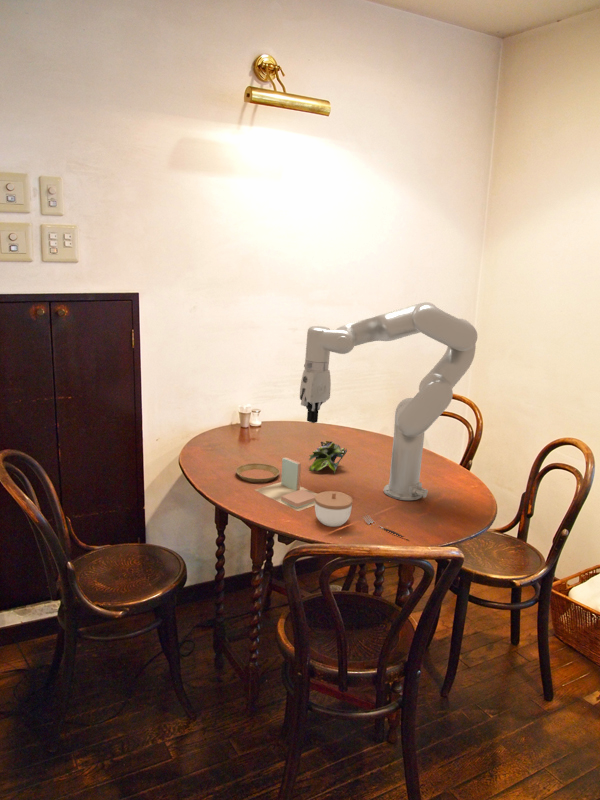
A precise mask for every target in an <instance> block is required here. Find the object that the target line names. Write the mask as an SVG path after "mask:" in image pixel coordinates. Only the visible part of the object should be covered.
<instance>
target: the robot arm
mask: <svg viewBox="0 0 600 800" xmlns="http://www.w3.org/2000/svg"><path fill="white" fill-rule="evenodd" d="M306 333H307V335H306V344H305V345H306V347H305V358H304V359H305V360H304V364H303V368H304V370H303V372H302V376H301V381H300V388H299V400H300V401H301V403H300V406H303V407H305V408H306V410H307V415H306V417H307V418H306V421H307V422H309V423H311V424H316V423H318V419H319V418H318V417H319V411H320V410H321V407H322V405H323V404H325V403H326V402H327V401H328V400H329V399H330V398H331V389H332V388H331V384H332V383H331V371H330V369H329V365H330V354H331V353H336V354H339V355H346V354H349V353H350V352H352V351H353V350H354V348H355V347H357V346H360V345H361V346H362V345H364V344H367V343H372V342H391V341H392V342H393V341H395V340H399V339H402V338H405V337H408V336H412V335H416V334H421V333H422V334H423V335H425V336H427V337H429V338H430V339H433V340H434V341H436V342H439V343H440V344H443V345H444V346H446V347H447V348H446V351H445V352H444V354H443V355H442V357H441V358H440V359H439V361H438V362H437V363H436V364H435V365H434V366H433V367H432V368H431V370H430V371H428V373H427V374H426V375H425V376H424V377H423V378H422V380H421V381H420V382H419V385H418V392H417V393H416V395H414V396H413V397H406V398H404V399H402V400H401V401H399V403H398V404H397V406H396V408H395V411H394V412H395V413H394V424H393V426H394V427H393V428H394V429H393V439H392V441H393V442H392V447H391V448H392V450H391V451H392V452H391V459H390V460H391V461H390V470H389V471H390V472H389V480H388V483H387V484H386V485H384V486H383V492H384V494H385V495H387V497H390V498H392V499H396V500H399V501H416V500H420V499H421V498H424V499H425V498H426V497H427V496H428V493H429V490H428V489H427V488H423V483H422V482H421V481H420V478H421V470H422V460H423V449H424V441H425V432H426V431H427V430H428V429H429V428H430V427H431V426H432V425H433V423H435V422H436V421H437V420H438V418H439V417H440V416H441V415H442V414H443V413H444V412H445V410H446V409H447V408H448V407H449V406H450V404H451V402H452V400H453V395H454V392H453V388H454V387H455V386H456V385H457V384H458V383H459V382H460V380H462V377H463V376H464V375H465V374H466V373H467V371H469V369H470V367H471V365H472V364H473V361H474V358H475V354H476V349H477V348H476V343H477V340H478V332H477V329H476V327H475V326H474V325H473V324H472V323H471V322H470V321H469V320H467V319H464V318H459V317H456V316H454V315H452V314H450V313H448V312H446V311H444V310H443V309H440V308H439V307H437V306H436V305H435V304H433V303H432V302H427V301H426V302H421V303H420V302H419V303H417V304H414V305H411V306H407V307H404V308H400V309H396V310H393V311H390V312H386V313H383V314H380V315H375V316H372V317H369V318H365V319H362V320H358V321H354V322H350V323H348V324H344V325H341V326H339V327H337V328H336V329H330V328H329V327H326V326H322V325H320V326H319V325H313V326H310V327H309V328H308V329H307V331H306Z"/></svg>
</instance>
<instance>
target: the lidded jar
mask: <svg viewBox="0 0 600 800" xmlns="http://www.w3.org/2000/svg"><path fill="white" fill-rule="evenodd" d="M353 502H354V501H353V497H352V496H350V495H349V494H347V493H344V492H341V491H334V490H333V491H331V490H329V491H328V490H326V491H321V492H319V493H317V495H316V496H315V505H314V511H315V512H314V513H315V517H316V518H317V520H318V521H319V522H320V523H321V524H322V525H324V526H326V527H331V528H332V527H333V528H334V527H335V528H336V527H340V526H343V525H345V524H346V523H347V521H349V518H350V516H351V513H352V506H353Z"/></svg>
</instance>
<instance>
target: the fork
mask: <svg viewBox="0 0 600 800" xmlns="http://www.w3.org/2000/svg"><path fill="white" fill-rule="evenodd" d="M362 518H363V519H364V520H365V522H366V523H367V524H368V525H369V524H370V523H373V522H375V520H374V519H372V517H370V515H369V514H366V515H365V516H362ZM380 527H381V528H380V529H382V528H383V529H384V531H385V530H386V531H385V532H387V531H389V532H391V533H393V534H396V535H398V536H401V537H405V536H404V535H402V534H400V533H399V532H396V531H393V530H391V529H389V528H386V527H383V526H380ZM383 529H382V530H383ZM389 532H388V533H389ZM391 533H390V534H391ZM393 534H392V535H393ZM398 536H397V537H398ZM401 537H400V538H401Z"/></svg>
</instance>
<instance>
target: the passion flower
mask: <svg viewBox="0 0 600 800" xmlns="http://www.w3.org/2000/svg"><path fill="white" fill-rule="evenodd" d="M347 449H348V448H345V447H341V445H339V444H337V443H335V442H333V441H332V440H331V441H329V440H325V441H320V446H318V447H317V448H316V449H314V450H313V451H312V454H309V456H308V457H309V459H308V460H309V461H311V460H312V459H314V461H313V462H312V464H311V465H310V466H309V468H308V470H309V472H313V471H316V472H318V471H321V470H323V469H324V468H325V467H327V466H328V467H329V468H330V469H331V470H332V471H333V474H335V473H336V471H337V468H338V466H339V465H340V464H339V463H340V462H341V461H342V459H343V458H344V457H345V455H346V453H347V452H348V450H347ZM337 458H340V459H339V460H338V461H336V459H337ZM335 461H336V462H335Z"/></svg>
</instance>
